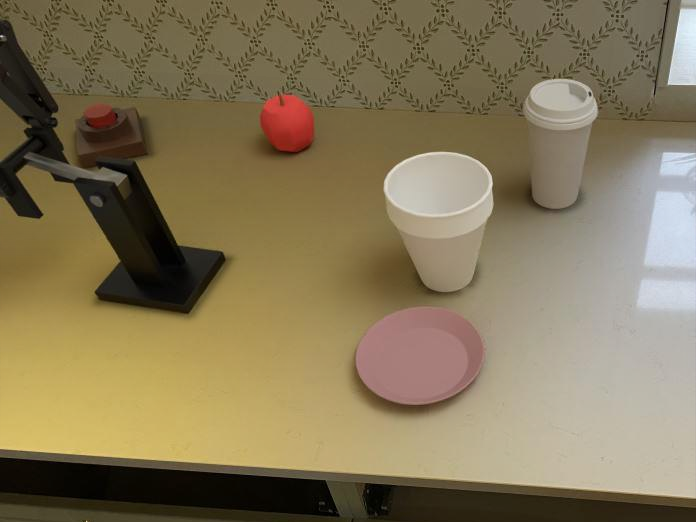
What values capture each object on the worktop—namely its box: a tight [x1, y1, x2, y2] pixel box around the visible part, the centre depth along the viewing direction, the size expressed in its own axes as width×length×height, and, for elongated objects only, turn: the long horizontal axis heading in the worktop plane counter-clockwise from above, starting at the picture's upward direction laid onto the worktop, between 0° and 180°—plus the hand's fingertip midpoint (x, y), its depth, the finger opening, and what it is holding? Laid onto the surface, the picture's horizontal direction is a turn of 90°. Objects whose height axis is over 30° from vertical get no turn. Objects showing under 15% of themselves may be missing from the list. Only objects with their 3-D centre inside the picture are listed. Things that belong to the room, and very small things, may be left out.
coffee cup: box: [522, 78, 599, 210], centre depth 87 cm, size 10×10×15 cm
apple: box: [259, 94, 315, 153], centre depth 98 cm, size 8×8×8 cm
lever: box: [0, 135, 132, 200], centre depth 71 cm, size 12×6×2 cm, turn 78°
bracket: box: [72, 156, 227, 314], centre depth 76 cm, size 12×10×16 cm
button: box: [83, 103, 117, 127], centre depth 98 cm, size 4×4×2 cm
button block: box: [74, 106, 149, 169], centre depth 100 cm, size 11×9×4 cm
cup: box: [383, 151, 494, 293], centre depth 78 cm, size 12×12×14 cm
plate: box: [355, 306, 486, 406], centre depth 73 cm, size 14×14×2 cm
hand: (49, 197), depth 75 cm, fingers closed on lever, 6 cm apart
